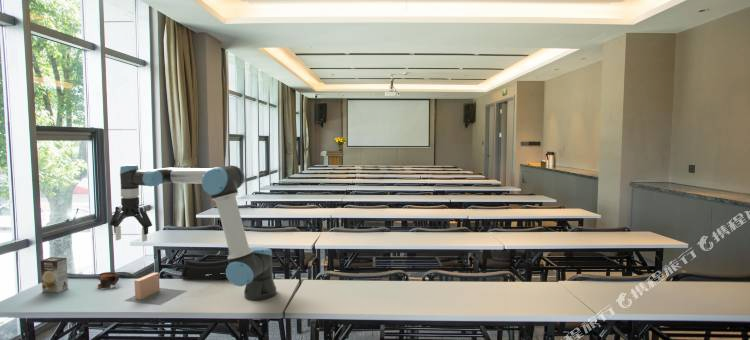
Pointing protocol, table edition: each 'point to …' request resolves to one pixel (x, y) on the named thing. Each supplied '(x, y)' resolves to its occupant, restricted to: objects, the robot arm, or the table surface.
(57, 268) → the coffee box
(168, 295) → the mat
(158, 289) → the board
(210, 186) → the robot arm
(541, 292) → the table surface
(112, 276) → the pottery mug
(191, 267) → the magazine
